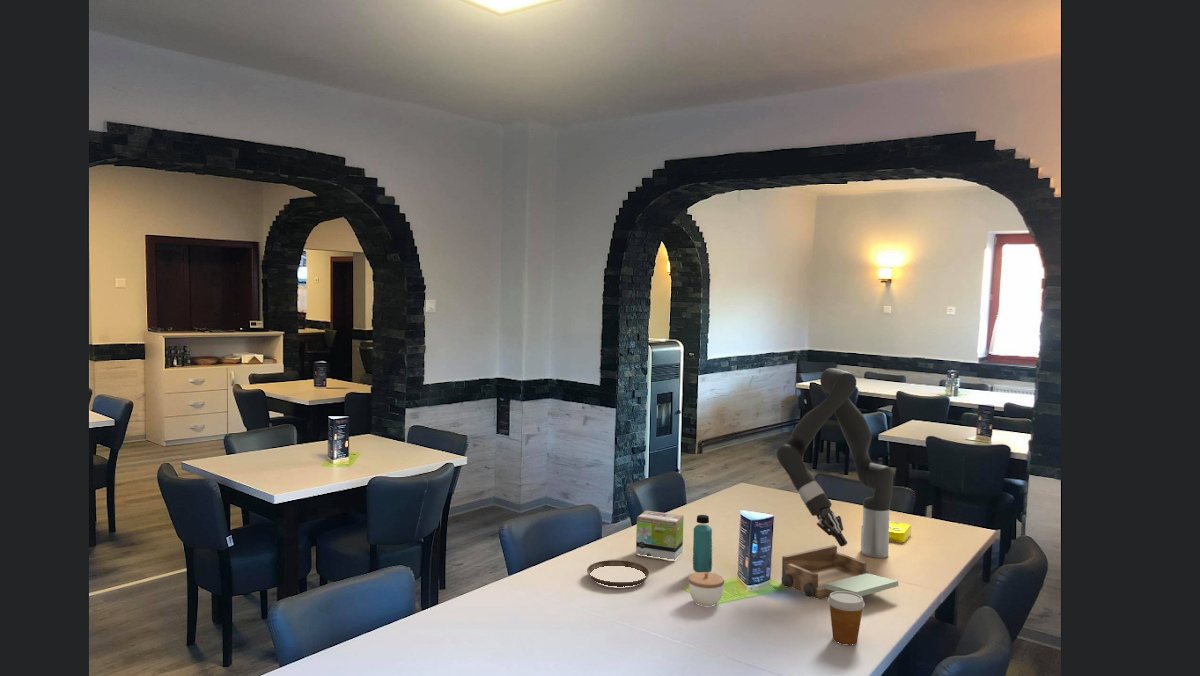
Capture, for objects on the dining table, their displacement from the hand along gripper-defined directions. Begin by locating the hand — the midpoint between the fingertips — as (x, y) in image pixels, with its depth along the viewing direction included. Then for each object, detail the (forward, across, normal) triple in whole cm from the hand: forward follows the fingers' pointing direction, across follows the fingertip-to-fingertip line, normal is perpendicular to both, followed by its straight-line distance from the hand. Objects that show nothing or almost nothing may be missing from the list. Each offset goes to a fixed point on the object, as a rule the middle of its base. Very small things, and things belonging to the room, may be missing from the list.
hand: (844, 545), depth 245 cm
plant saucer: (-23, -45, +54) cm, 74 cm away
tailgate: (+10, -2, +6) cm, 12 cm away
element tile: (-3, +68, +16) cm, 70 cm away
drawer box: (+7, 0, +13) cm, 15 cm away
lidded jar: (-2, -41, +30) cm, 50 cm away
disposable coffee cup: (+25, -35, -2) cm, 43 cm away
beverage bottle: (-14, -21, +40) cm, 48 cm away
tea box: (-29, -16, +57) cm, 66 cm away
